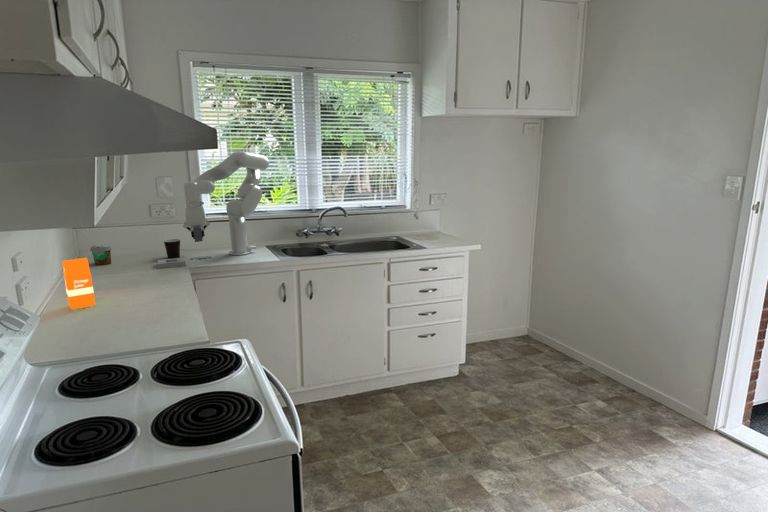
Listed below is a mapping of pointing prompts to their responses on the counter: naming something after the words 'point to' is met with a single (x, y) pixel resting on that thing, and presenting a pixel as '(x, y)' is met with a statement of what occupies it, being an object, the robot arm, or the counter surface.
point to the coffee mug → (172, 248)
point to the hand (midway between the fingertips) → (198, 237)
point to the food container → (101, 255)
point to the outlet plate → (171, 262)
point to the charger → (197, 233)
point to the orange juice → (78, 283)
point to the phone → (200, 257)
